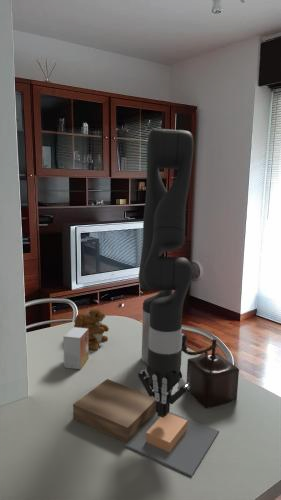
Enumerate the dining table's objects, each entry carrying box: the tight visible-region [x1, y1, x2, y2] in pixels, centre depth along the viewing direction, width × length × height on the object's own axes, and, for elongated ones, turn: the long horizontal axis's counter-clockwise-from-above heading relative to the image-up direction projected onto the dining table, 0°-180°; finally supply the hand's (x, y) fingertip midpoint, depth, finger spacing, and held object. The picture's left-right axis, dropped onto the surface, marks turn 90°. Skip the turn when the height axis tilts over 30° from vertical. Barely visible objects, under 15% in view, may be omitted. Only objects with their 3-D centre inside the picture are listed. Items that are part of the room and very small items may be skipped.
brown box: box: [72, 378, 156, 444], centre depth 93 cm, size 14×16×4 cm
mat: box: [124, 411, 220, 478], centre depth 85 cm, size 16×16×1 cm
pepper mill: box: [182, 332, 240, 409], centre depth 101 cm, size 16×11×18 cm
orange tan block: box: [146, 413, 188, 452], centre depth 85 cm, size 9×6×2 cm, turn 148°
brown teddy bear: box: [73, 306, 110, 351], centre depth 133 cm, size 10×14×13 cm
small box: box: [63, 326, 90, 370], centre depth 118 cm, size 8×6×10 cm
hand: (162, 414), depth 86 cm, fingers closed
